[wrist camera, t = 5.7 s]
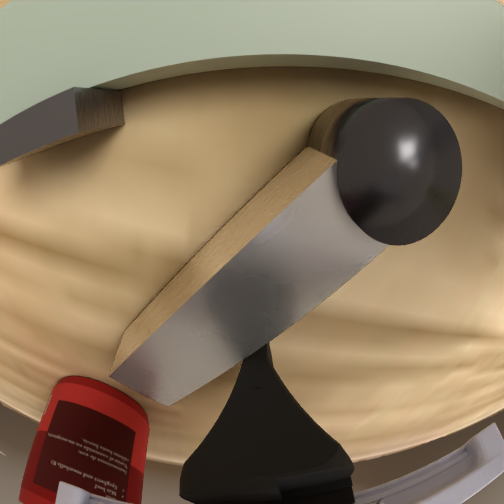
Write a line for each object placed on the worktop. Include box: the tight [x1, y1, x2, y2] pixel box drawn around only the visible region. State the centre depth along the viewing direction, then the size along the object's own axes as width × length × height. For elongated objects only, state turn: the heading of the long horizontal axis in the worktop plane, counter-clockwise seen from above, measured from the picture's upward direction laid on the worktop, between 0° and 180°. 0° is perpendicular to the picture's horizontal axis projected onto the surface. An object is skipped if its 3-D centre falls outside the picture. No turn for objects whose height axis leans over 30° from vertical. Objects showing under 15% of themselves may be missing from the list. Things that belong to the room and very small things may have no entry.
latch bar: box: [109, 98, 462, 407], centre depth 9 cm, size 14×4×3 cm, turn 135°
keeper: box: [0, 87, 125, 167], centre depth 6 cm, size 4×1×3 cm, turn 95°
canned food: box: [19, 376, 150, 504], centre depth 11 cm, size 8×8×11 cm
